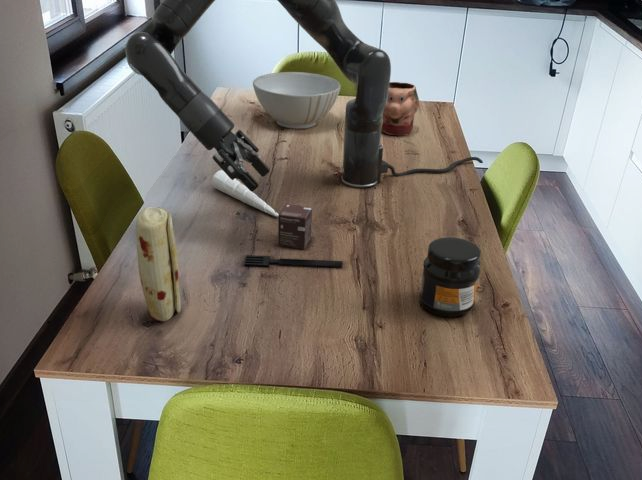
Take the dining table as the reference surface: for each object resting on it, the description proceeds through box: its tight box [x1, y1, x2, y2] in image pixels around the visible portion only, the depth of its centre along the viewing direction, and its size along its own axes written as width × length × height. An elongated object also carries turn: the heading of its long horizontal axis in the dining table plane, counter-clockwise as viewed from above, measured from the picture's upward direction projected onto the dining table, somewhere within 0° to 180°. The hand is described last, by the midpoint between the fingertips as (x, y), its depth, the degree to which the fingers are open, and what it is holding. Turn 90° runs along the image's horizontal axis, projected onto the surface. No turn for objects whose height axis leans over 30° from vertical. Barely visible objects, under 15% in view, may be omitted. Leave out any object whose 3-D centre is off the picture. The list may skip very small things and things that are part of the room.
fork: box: [243, 254, 343, 269], centre depth 146 cm, size 20×4×1 cm, turn 90°
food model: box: [135, 205, 182, 322], centre depth 122 cm, size 10×7×20 cm
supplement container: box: [419, 236, 482, 318], centre depth 131 cm, size 10×10×12 cm
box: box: [277, 203, 313, 250], centre depth 152 cm, size 6×6×7 cm
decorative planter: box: [381, 81, 420, 136], centre depth 216 cm, size 20×12×14 cm, turn 174°
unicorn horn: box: [211, 169, 279, 218], centre depth 168 cm, size 5×24×5 cm, turn 40°
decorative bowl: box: [252, 71, 341, 130], centre depth 219 cm, size 27×27×12 cm
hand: (261, 181), depth 147 cm, fingers open, 8 cm apart
